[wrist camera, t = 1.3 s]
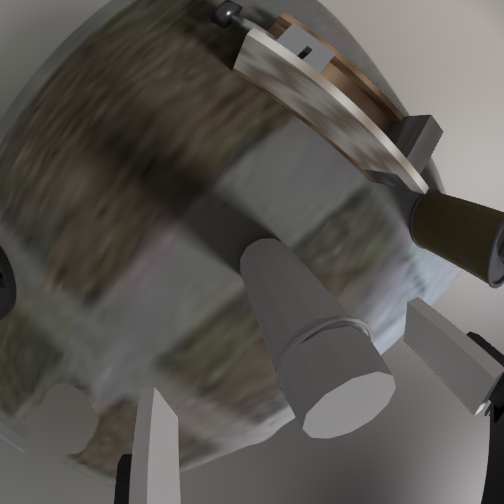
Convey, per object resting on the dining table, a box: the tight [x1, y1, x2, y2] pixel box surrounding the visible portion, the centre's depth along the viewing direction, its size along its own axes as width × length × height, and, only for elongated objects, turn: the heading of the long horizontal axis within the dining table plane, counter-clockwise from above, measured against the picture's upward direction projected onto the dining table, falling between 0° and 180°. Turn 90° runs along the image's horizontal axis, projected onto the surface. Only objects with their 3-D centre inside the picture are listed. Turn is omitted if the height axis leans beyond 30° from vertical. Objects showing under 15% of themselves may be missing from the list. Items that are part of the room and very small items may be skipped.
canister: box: [410, 190, 504, 288], centre depth 31 cm, size 11×10×20 cm
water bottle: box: [240, 238, 396, 438], centre depth 26 cm, size 9×8×25 cm
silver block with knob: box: [211, 0, 335, 73], centre depth 22 cm, size 14×6×9 cm, turn 55°
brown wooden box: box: [232, 12, 443, 194], centre depth 26 cm, size 24×10×12 cm, turn 55°
